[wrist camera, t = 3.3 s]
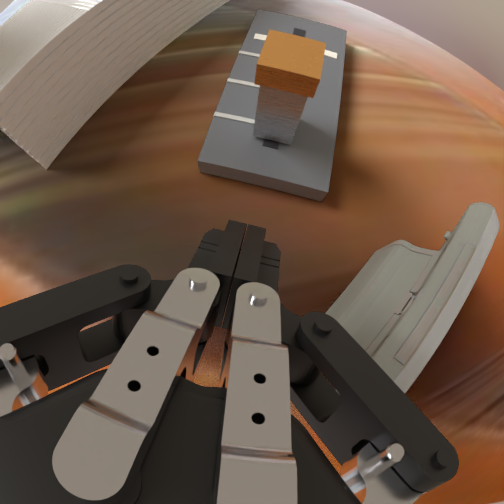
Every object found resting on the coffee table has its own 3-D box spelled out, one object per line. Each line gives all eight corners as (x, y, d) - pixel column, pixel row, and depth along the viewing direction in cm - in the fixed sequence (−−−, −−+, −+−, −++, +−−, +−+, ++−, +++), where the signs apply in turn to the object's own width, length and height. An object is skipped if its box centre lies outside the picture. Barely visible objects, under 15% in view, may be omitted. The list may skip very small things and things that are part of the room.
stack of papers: (181, -23, 32) (176, -80, 21) (241, -6, 31) (247, -71, 21) (1, 131, 25) (-49, 78, 15) (47, 170, 25) (-16, 109, 14)
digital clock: (327, 427, 22) (386, 486, 11) (260, 339, 23) (285, 355, 12) (459, 302, 25) (546, 288, 14) (409, 221, 26) (487, 173, 15)
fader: (248, 138, 23) (256, 64, 15) (258, 103, 24) (269, 29, 16) (293, 149, 24) (320, 79, 16) (301, 114, 24) (325, 43, 16)
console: (199, 172, 25) (197, 159, 23) (257, 21, 30) (258, 8, 27) (320, 201, 25) (328, 191, 23) (341, 42, 30) (346, 29, 28)
